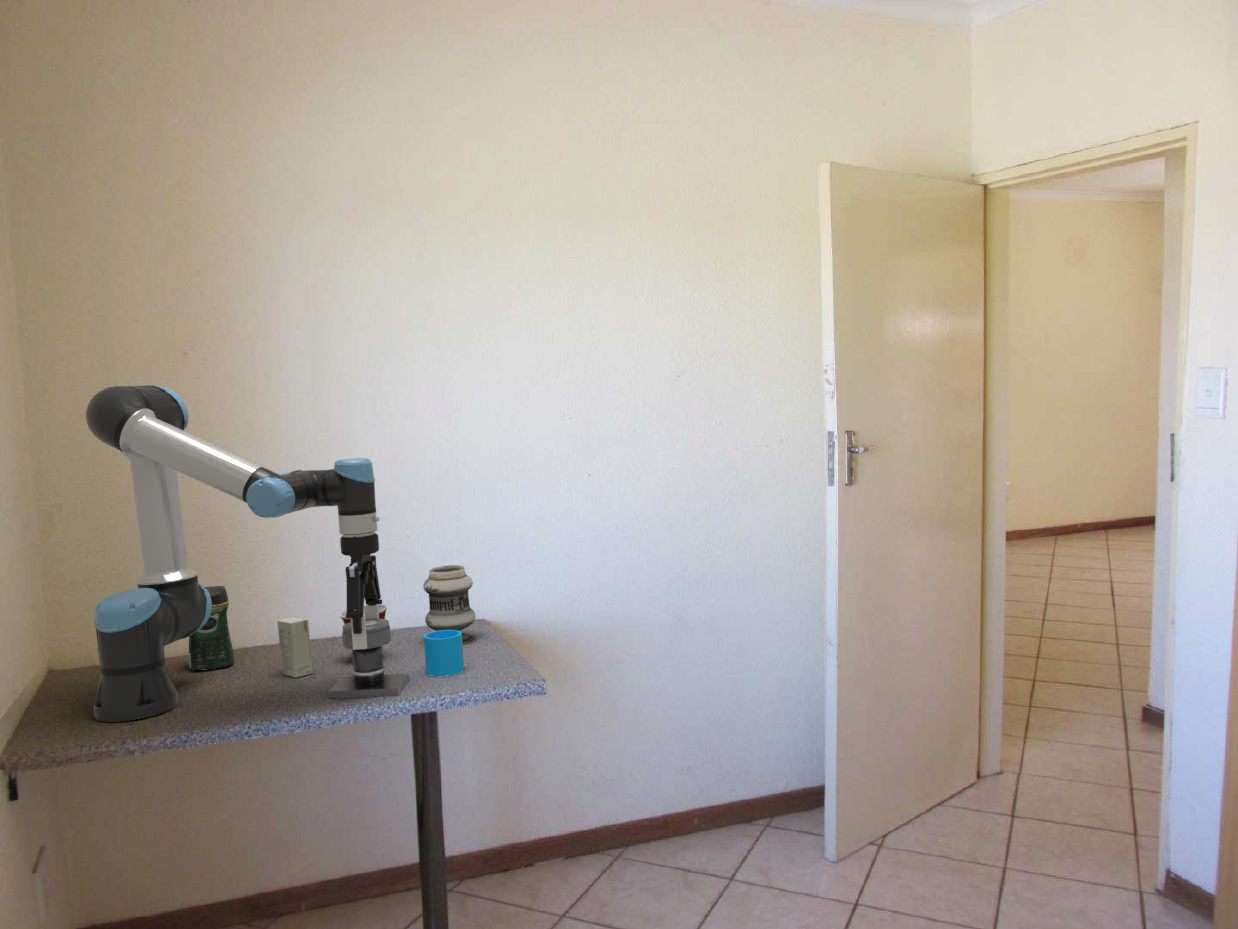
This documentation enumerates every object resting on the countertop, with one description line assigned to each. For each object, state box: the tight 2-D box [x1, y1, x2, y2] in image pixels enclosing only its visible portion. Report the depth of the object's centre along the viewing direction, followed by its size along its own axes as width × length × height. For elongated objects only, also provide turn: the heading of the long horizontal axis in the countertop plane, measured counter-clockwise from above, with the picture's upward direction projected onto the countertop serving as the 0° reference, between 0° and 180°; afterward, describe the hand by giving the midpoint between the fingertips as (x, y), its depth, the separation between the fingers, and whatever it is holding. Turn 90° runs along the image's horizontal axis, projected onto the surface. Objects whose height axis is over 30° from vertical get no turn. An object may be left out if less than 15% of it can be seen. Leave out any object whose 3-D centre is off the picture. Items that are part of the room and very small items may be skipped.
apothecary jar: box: [423, 564, 477, 645], centre depth 237 cm, size 12×12×18 cm
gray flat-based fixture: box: [327, 646, 410, 699], centre depth 201 cm, size 14×10×10 cm
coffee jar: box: [188, 585, 235, 671], centre depth 224 cm, size 10×8×19 cm
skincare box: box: [277, 616, 314, 678], centre depth 215 cm, size 6×4×12 cm
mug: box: [423, 630, 465, 677], centre depth 213 cm, size 12×8×8 cm
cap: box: [341, 618, 392, 650], centre depth 200 cm, size 9×9×4 cm
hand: (367, 642), depth 200 cm, fingers closed on cap, 9 cm apart
